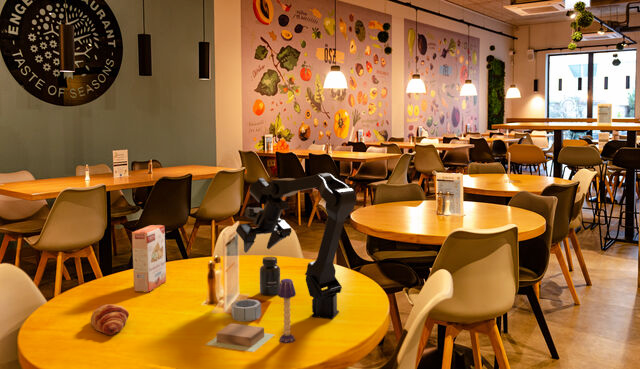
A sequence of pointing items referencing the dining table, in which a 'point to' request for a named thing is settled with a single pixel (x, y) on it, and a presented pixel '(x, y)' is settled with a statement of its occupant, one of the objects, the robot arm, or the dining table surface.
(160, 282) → the cracker box
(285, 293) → the toy lamp
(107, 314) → the croissant
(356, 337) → the dining table surface
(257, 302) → the bowl
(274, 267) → the supplement bottle
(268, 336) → the mat
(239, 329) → the brown flat block
